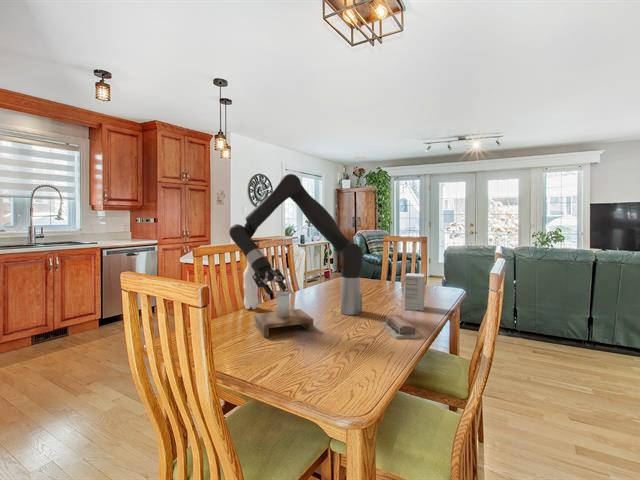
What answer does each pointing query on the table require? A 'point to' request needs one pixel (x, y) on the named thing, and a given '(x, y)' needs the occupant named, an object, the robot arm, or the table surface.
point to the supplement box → (414, 291)
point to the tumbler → (283, 304)
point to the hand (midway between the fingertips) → (278, 291)
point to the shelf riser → (282, 321)
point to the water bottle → (250, 289)
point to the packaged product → (400, 327)
